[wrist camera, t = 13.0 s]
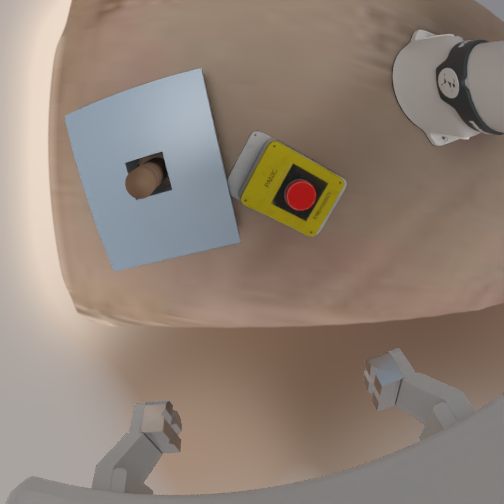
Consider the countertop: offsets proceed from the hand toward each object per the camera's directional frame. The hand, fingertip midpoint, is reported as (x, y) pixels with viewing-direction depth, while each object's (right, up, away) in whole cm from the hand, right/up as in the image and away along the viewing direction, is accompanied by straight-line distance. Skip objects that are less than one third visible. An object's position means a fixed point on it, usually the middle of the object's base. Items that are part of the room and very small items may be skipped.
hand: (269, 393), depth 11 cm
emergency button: (+4, +15, +29) cm, 33 cm away
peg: (-13, +16, +26) cm, 33 cm away
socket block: (-13, +16, +26) cm, 33 cm away
